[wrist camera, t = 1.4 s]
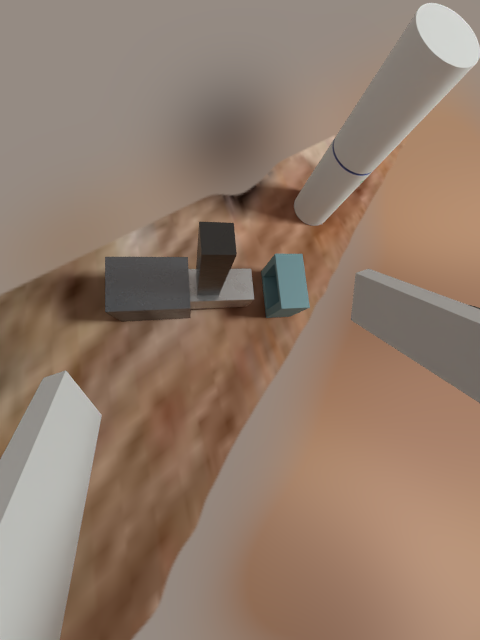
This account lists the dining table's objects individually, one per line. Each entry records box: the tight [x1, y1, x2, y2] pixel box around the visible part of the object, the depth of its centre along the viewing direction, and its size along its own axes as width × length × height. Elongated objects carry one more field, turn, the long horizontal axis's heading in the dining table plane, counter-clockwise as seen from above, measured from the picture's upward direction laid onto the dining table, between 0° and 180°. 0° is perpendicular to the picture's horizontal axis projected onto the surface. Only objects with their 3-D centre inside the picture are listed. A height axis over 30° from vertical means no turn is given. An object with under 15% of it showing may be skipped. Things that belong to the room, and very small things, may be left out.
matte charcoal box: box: [105, 257, 191, 321], centre depth 33 cm, size 10×7×7 cm
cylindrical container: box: [294, 3, 480, 226], centre depth 33 cm, size 7×7×25 cm
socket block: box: [261, 254, 310, 318], centre depth 37 cm, size 4×8×7 cm, turn 5°
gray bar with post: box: [188, 222, 254, 309], centre depth 28 cm, size 18×5×17 cm, turn 95°
